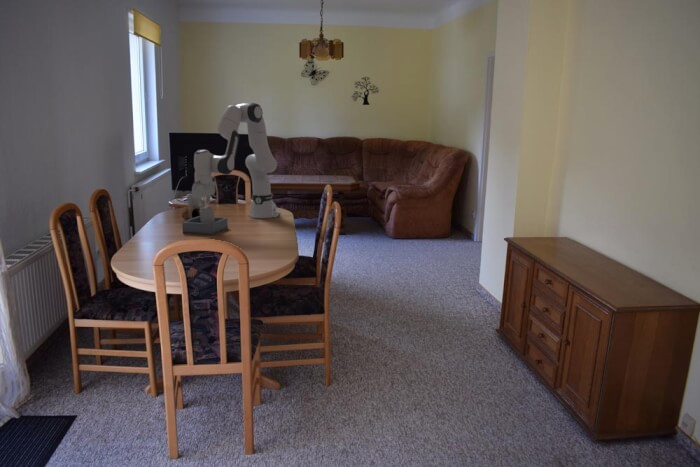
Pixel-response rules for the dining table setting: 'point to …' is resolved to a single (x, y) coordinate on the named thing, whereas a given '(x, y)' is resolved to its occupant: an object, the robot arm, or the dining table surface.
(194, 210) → the clay pipe
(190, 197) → the cup
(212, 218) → the can
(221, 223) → the bin
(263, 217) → the robot arm
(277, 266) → the dining table surface
